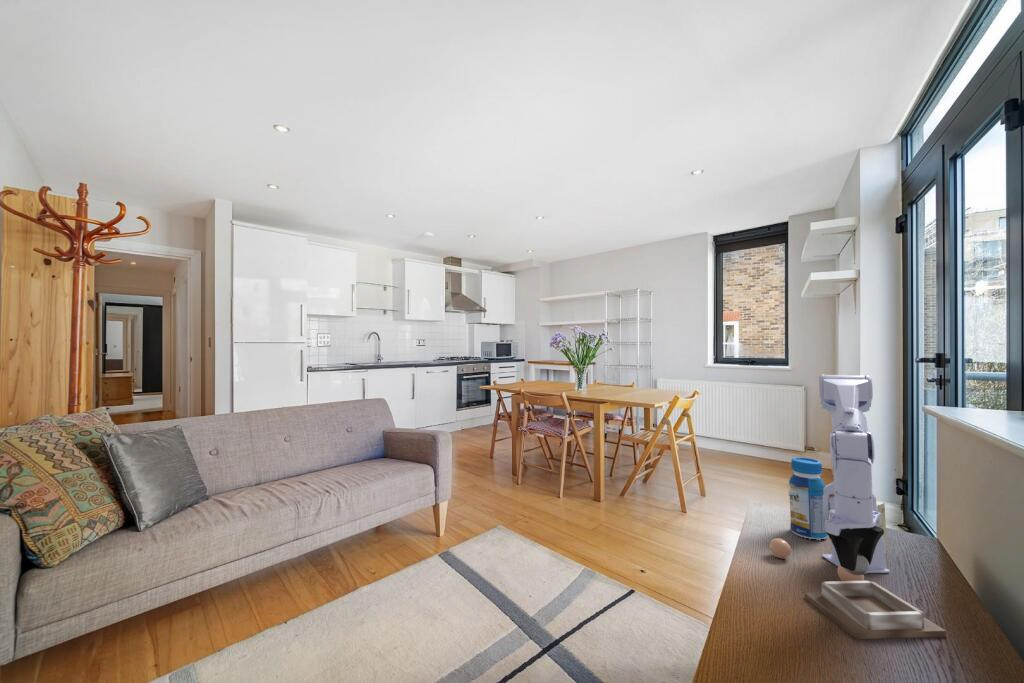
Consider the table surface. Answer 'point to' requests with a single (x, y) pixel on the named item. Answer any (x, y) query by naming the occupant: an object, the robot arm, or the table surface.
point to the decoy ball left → (848, 575)
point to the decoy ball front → (780, 548)
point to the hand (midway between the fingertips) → (855, 565)
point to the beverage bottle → (807, 499)
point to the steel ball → (860, 565)
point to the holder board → (871, 611)
